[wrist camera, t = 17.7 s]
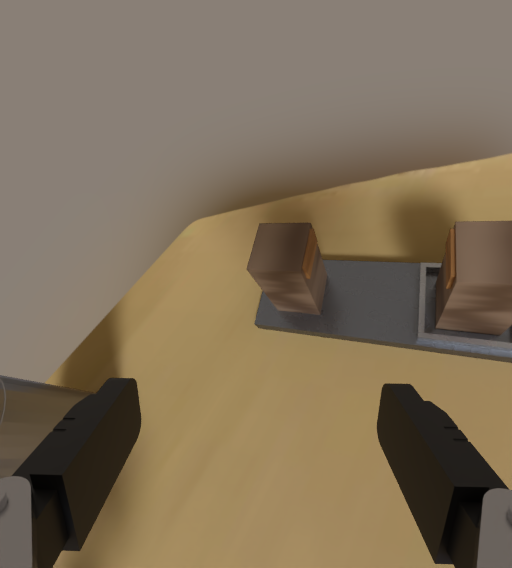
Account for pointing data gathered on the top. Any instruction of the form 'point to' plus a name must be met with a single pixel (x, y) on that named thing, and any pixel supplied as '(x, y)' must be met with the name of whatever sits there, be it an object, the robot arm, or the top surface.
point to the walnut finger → (476, 279)
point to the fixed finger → (289, 266)
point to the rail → (384, 311)
